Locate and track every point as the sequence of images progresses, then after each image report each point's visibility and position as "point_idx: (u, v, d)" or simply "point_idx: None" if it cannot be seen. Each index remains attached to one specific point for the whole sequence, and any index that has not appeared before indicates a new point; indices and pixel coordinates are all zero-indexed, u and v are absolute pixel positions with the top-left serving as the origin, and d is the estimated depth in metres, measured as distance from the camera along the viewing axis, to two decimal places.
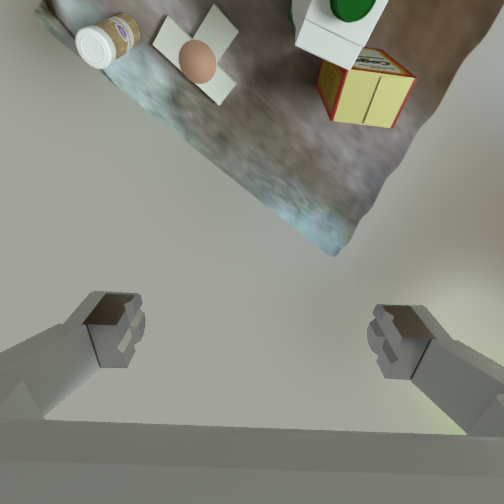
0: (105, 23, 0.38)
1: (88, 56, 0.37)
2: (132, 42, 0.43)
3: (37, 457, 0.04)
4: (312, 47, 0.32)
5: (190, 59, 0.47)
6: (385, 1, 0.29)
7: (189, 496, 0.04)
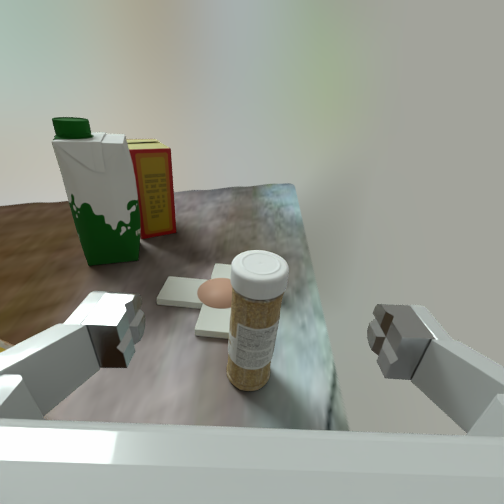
0: (232, 315, 0.23)
1: (275, 265, 0.21)
2: None
3: (37, 457, 0.04)
4: (119, 140, 0.36)
5: (223, 297, 0.36)
6: None
7: (189, 496, 0.04)
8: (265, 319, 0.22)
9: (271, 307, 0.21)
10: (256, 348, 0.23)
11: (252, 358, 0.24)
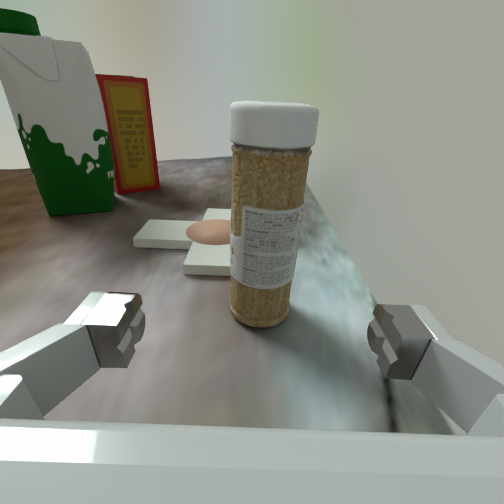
0: (234, 200, 0.15)
1: None
2: None
3: (39, 456, 0.04)
4: None
5: (219, 235, 0.28)
6: None
7: (189, 496, 0.04)
8: (286, 192, 0.14)
9: (295, 169, 0.14)
10: (273, 249, 0.15)
11: (267, 267, 0.16)
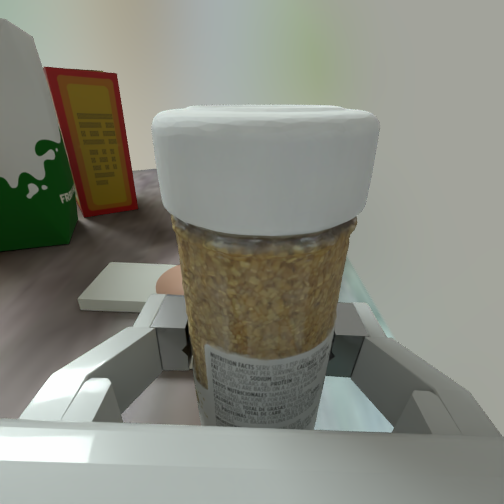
0: (189, 320, 0.07)
1: None
2: None
3: (37, 457, 0.04)
4: None
5: None
6: None
7: (189, 496, 0.04)
8: (301, 322, 0.06)
9: (322, 271, 0.05)
10: (276, 418, 0.07)
11: None
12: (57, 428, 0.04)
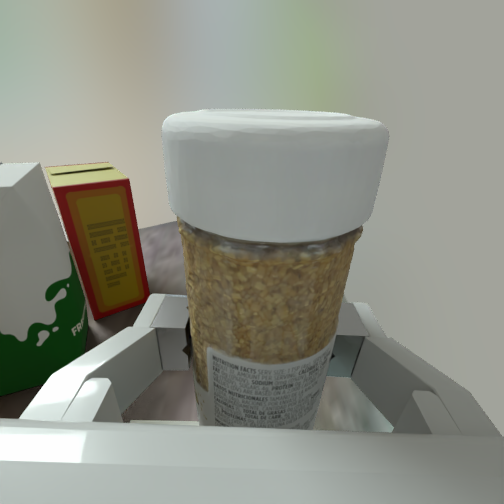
0: (191, 322, 0.07)
1: None
2: None
3: (37, 457, 0.04)
4: (11, 178, 0.18)
5: None
6: None
7: (189, 496, 0.04)
8: (304, 328, 0.06)
9: (327, 278, 0.06)
10: (276, 421, 0.07)
11: None
12: (57, 428, 0.04)
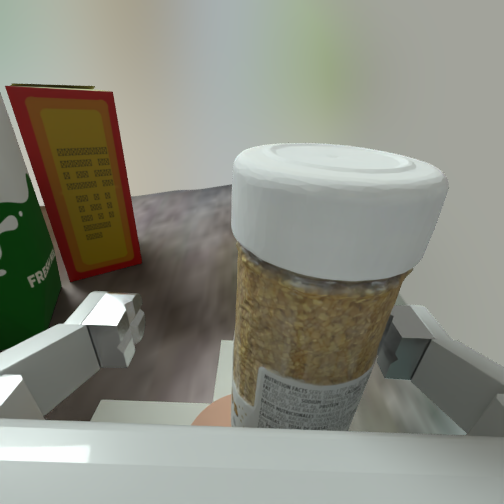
0: (241, 341, 0.08)
1: (391, 160, 0.06)
2: None
3: (38, 457, 0.04)
4: None
5: None
6: None
7: (189, 496, 0.04)
8: (356, 353, 0.06)
9: (382, 309, 0.06)
10: None
11: None
12: (57, 428, 0.04)
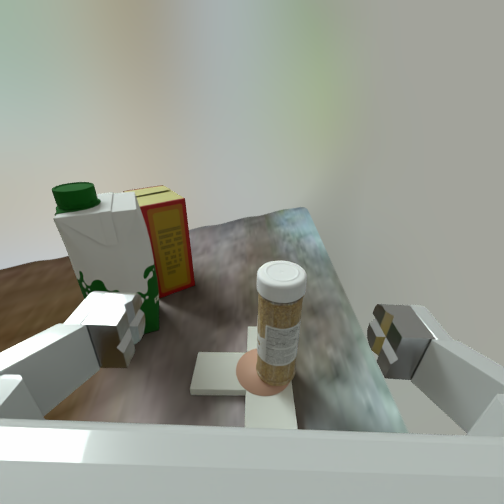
0: (260, 319, 0.27)
1: (295, 272, 0.25)
2: None
3: (37, 457, 0.04)
4: (130, 204, 0.31)
5: None
6: None
7: (189, 496, 0.04)
8: (290, 320, 0.25)
9: (294, 308, 0.25)
10: (283, 346, 0.27)
11: (280, 355, 0.27)
12: (57, 428, 0.04)
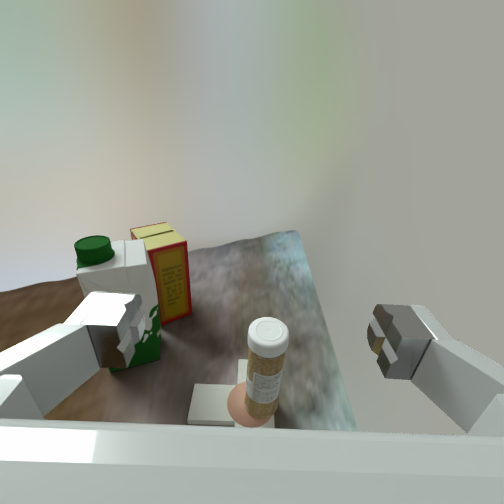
0: (249, 366, 0.32)
1: (279, 331, 0.30)
2: None
3: (37, 457, 0.04)
4: (141, 256, 0.36)
5: None
6: None
7: (189, 496, 0.04)
8: (273, 369, 0.30)
9: (278, 361, 0.30)
10: (268, 389, 0.32)
11: (265, 395, 0.32)
12: (57, 428, 0.04)
